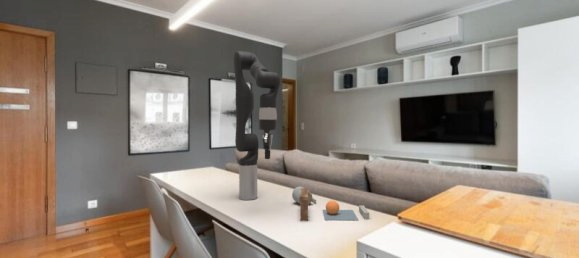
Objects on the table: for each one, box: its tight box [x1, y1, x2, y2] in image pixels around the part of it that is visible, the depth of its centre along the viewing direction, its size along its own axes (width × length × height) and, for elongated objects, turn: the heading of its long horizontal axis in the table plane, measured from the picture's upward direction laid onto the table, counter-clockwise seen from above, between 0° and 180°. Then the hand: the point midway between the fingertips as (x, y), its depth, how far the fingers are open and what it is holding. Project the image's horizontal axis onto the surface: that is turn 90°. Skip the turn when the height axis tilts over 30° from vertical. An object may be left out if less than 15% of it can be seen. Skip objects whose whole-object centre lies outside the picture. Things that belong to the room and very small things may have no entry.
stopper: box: [358, 205, 370, 220], centre depth 113 cm, size 2×10×2 cm, turn 177°
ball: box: [325, 200, 340, 214], centre depth 115 cm, size 6×6×6 cm
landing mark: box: [322, 209, 359, 221], centre depth 114 cm, size 13×13×1 cm
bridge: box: [299, 187, 309, 222], centre depth 114 cm, size 3×15×9 cm, turn 177°
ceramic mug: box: [291, 186, 317, 206], centre depth 131 cm, size 11×8×8 cm
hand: (267, 158), depth 119 cm, fingers closed
